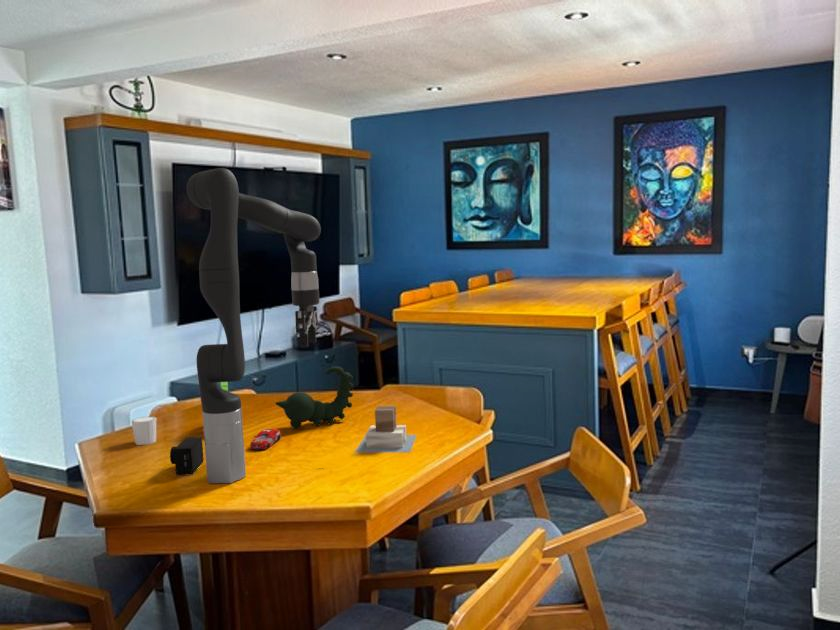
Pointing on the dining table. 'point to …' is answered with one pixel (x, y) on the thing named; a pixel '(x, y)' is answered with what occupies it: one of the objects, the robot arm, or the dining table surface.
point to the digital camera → (187, 455)
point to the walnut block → (385, 418)
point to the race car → (265, 439)
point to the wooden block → (386, 438)
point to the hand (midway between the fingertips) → (308, 345)
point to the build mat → (406, 448)
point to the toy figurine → (318, 403)
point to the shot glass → (144, 430)
